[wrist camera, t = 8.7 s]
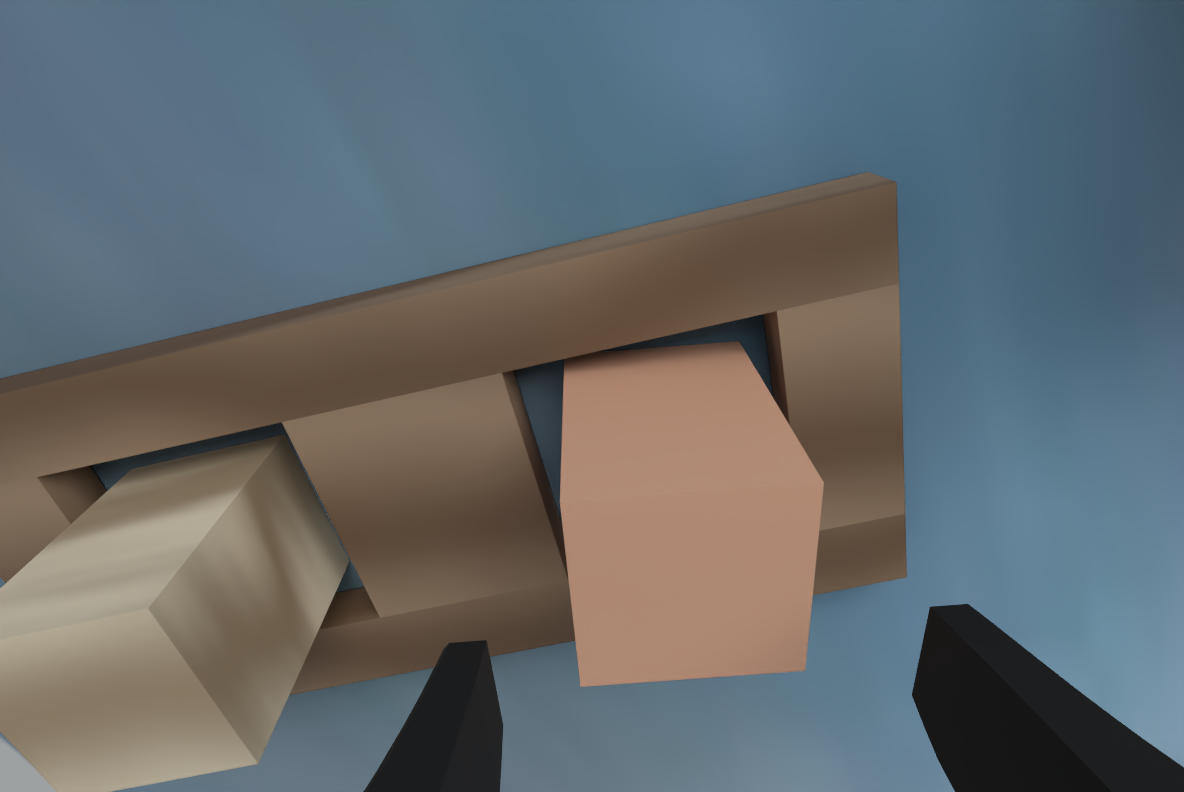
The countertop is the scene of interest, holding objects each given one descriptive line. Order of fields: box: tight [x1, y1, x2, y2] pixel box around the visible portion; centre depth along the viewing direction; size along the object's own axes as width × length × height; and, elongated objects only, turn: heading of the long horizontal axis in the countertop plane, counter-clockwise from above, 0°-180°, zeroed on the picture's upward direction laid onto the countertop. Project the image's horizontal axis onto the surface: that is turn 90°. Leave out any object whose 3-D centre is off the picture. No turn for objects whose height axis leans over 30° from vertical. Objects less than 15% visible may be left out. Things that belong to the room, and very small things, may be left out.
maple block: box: [0, 434, 350, 792], centre depth 16 cm, size 4×4×6 cm
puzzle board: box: [0, 172, 907, 695], centre depth 18 cm, size 11×24×2 cm, turn 103°
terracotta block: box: [560, 341, 824, 687], centre depth 15 cm, size 4×4×6 cm
